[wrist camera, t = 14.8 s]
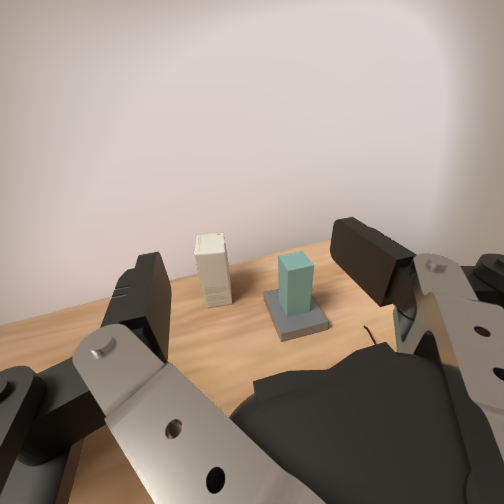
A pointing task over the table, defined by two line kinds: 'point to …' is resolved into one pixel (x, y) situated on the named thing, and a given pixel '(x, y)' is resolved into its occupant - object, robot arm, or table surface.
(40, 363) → the table surface
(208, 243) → the skincare box
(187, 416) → the robot arm
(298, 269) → the teal block
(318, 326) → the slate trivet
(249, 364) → the table surface
